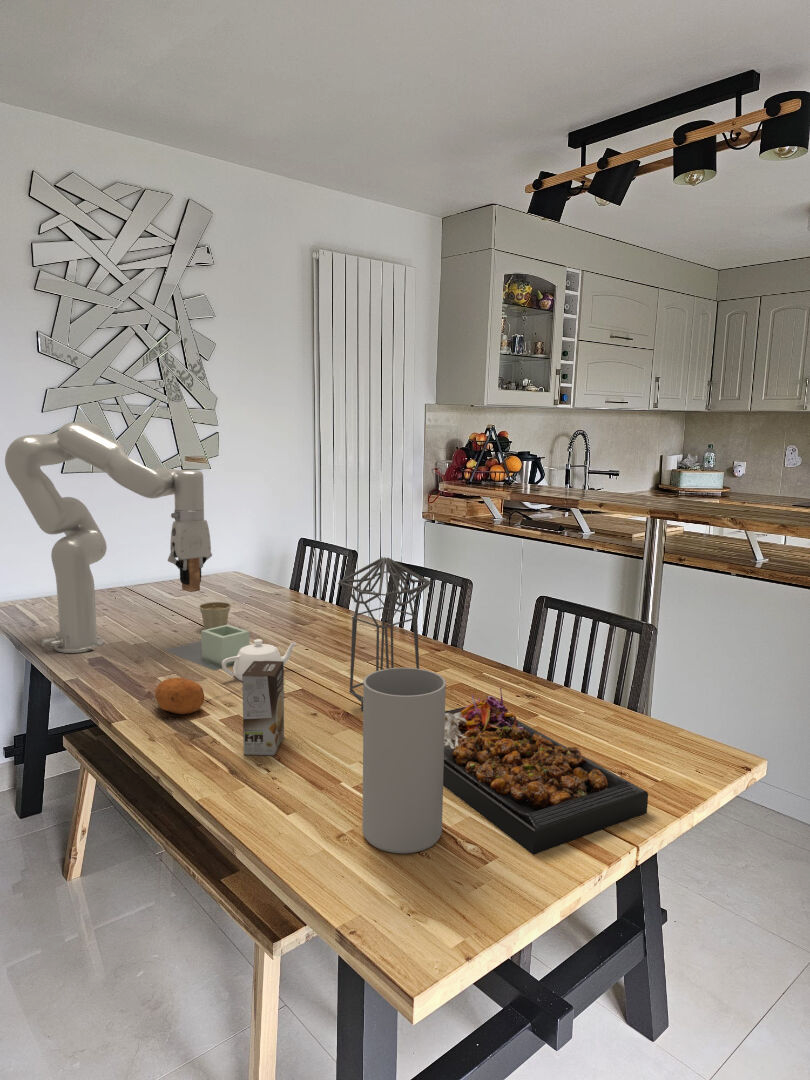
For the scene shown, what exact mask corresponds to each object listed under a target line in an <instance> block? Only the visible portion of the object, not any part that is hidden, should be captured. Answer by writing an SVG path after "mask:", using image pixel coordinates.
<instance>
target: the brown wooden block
mask: <svg viewBox="0 0 810 1080" xmlns="http://www.w3.org/2000/svg"><path fill="white" fill-rule="evenodd" d="M187 570H189V584H188V585H186V584H182V583H181V590H182V591H184V592H188V593H193V592H199V591H200V590H201V585H200V584H201V582H200V563H199V558H194V559H188V562H187Z"/></svg>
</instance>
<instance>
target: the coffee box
mask: <svg viewBox="0 0 810 1080" xmlns="http://www.w3.org/2000/svg"><path fill="white" fill-rule="evenodd" d="M284 670H285V665H284V662H283V661H253V663H252V664H251V665H250V666H249V667H248V669H247V670H246V671H245V672H244V673H243V675H242V681H241V682H242V726H243V727H242V729H243V730H242V731H243V733H242V734H243V735H242V736H243V738H242V739H243V755H248V756H249V755H250V756H252V755H253V756H275V755H276V753H277V751H278V749H279V748H280V745H281V743H282V741H283V739H284V737H285V707H284V706H285V698H284V697H285V695H284V694H285V691H284V690H285V685H284V684H285V681H284V680H285V679H284V676H285V675H284V672H285V671H284Z"/></svg>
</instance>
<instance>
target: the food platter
mask: <svg viewBox="0 0 810 1080" xmlns="http://www.w3.org/2000/svg"><path fill="white" fill-rule="evenodd" d="M499 690H500V700H498V699H497V698H496V697H494V696H493V695H486V694H485V697H486V699H483V700H481V699H480V698H479V697H478V698H477V701H475V700H476V699H475V697H474V695H473V694H472V693H471V702H472V703H470V704H468V705H465V706H463V707H459V708H458V707H457V708H454V709H449V710H445V733H444V771H443V788H445V789H447V790H449V792H451V793H452V794H453V795H454V796H456V797H457V798H459V799H460V800H462V801H463V803H465V804H467V805H468V806H469V807H470V808H471V809H473V810H474V811H476V812H477V813H478V814H479V815H481V817H483V819H485V820H487V821H488V822H490V823H491V824H492V825H493V826H495V827H496V828H497V829H499V830H500V831H501V832H503V833H504V834H505V835H506V836H508V837H509V838H510V839H511V840H513V841H514V842H515V843H517V844H518V845H519V846H520V847H522V848H523V849H525V850H526V851H527V852H528V853H530V854H531V855H532V856H535V855H537V854H540V853H543V852H546V851H548V850H551V849H554V848H557V847H559V846H562V845H565V844H567V843H569V842H573V841H575V840H578V839H580V838H584V837H587V836H589V835H592V834H595V833H598V832H600V831H603V830H606V829H608V828H611V827H614V826H617V825H619V824H622V823H625V822H627V821H629V820H633V819H636V818H638V817H640V816H644V815H646V814H648V800H649V792H648V791H647V790H645V789H642V787H639V786H638V785H635V784H634V783H632V782H631V781H629V780H626V779H624V778H623V777H621V776H619V775H617V774H616V773H615V772H612V771H610V770H609V769H607V768H605V767H603V766H602V765H599V764H597V763H596V762H594V761H592V760H590V759H589V758H586V757H585V756H583V755H582V752H581V751H580V749H578V747H577V746H568V747H567V746H565V745H563V744H561V743H559V742H558V741H557V740H554V739H553V738H551V737H549V736H547V735H546V734H543V733H541V732H539V731H538V730H536V729H534V728H532V727H531V726H529V725H528V724H525V723H523V722H521V721H520V720H518V719H517V716H516V715H514V714H513V713H509V709H508V708H507V707H506V706H505V704H504V699H503V694H502V687H501V686H499Z"/></svg>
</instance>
